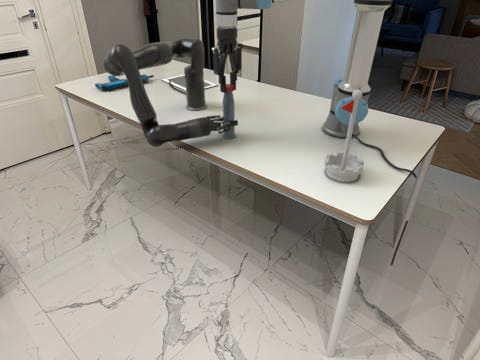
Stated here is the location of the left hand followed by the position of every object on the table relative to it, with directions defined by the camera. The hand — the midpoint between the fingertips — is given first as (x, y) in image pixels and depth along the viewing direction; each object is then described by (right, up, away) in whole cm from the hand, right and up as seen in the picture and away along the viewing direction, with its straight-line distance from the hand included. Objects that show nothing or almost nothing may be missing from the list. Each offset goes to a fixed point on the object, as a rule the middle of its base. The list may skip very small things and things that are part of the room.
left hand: (234, 120), depth 143 cm
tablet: (-29, +34, +65) cm, 79 cm away
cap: (-2, +12, -9) cm, 15 cm away
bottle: (-2, -6, +3) cm, 7 cm away
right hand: (-2, +10, -8) cm, 14 cm away
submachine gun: (-69, +35, +66) cm, 102 cm away
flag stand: (+38, -23, -23) cm, 50 cm away
